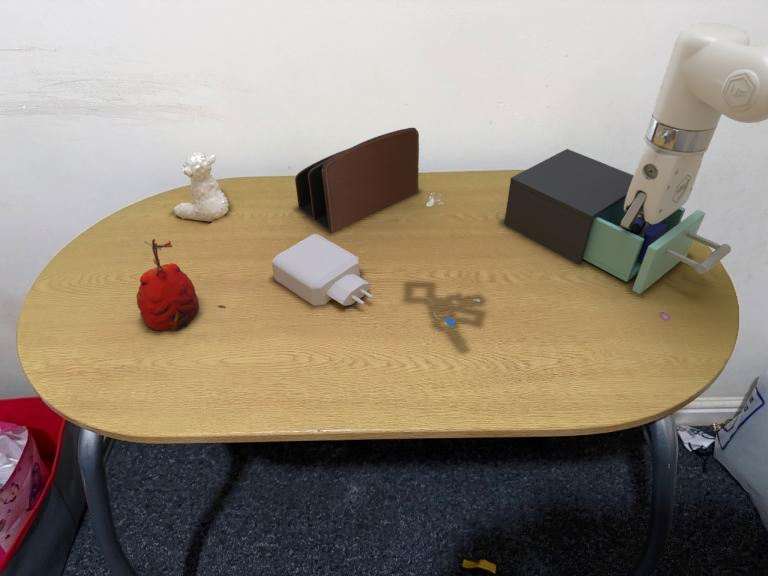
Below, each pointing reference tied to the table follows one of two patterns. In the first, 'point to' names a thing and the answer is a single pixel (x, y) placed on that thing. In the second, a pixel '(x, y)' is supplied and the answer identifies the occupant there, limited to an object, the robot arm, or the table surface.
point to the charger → (321, 272)
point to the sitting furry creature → (202, 191)
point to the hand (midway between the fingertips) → (637, 246)
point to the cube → (651, 235)
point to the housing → (563, 201)
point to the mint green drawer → (622, 247)
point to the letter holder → (360, 180)
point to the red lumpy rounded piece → (166, 295)
